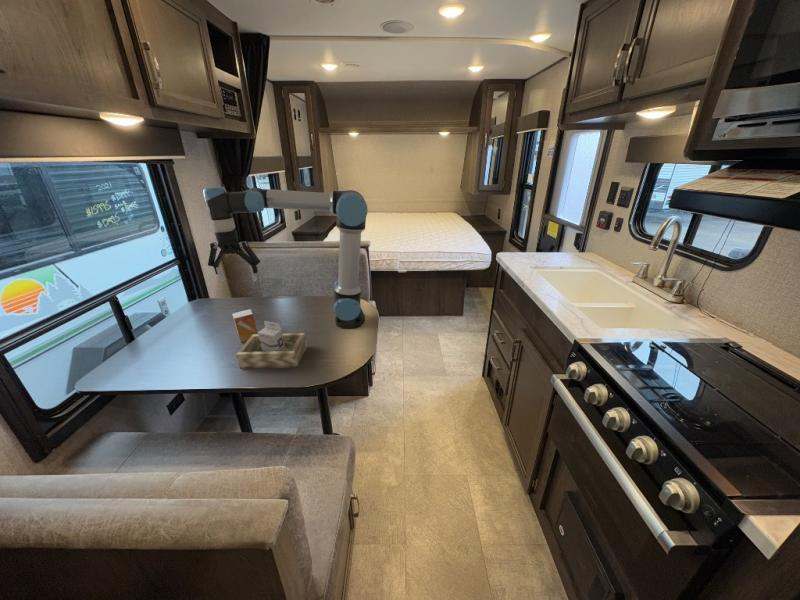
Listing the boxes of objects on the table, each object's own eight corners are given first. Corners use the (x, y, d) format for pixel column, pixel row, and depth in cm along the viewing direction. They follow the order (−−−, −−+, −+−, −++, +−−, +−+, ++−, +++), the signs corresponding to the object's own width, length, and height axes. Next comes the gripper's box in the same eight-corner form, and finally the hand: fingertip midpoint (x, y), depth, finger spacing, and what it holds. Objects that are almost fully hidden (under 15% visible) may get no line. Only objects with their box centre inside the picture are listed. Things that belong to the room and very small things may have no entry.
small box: (240, 343, 142) (233, 318, 137) (239, 337, 147) (231, 313, 142) (259, 337, 146) (252, 313, 141) (256, 332, 151) (250, 308, 145)
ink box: (263, 356, 130) (255, 326, 124) (270, 349, 134) (263, 320, 128) (279, 359, 128) (272, 329, 121) (287, 352, 132) (280, 323, 125)
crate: (307, 346, 138) (304, 333, 135) (296, 367, 124) (293, 353, 121) (256, 347, 138) (252, 334, 135) (240, 368, 125) (235, 354, 122)
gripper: (261, 226, 121) (272, 276, 130) (199, 228, 121) (214, 278, 130) (252, 231, 114) (265, 283, 123) (186, 233, 114) (204, 285, 123)
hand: (239, 281), depth 127 cm, fingers open, 13 cm apart
